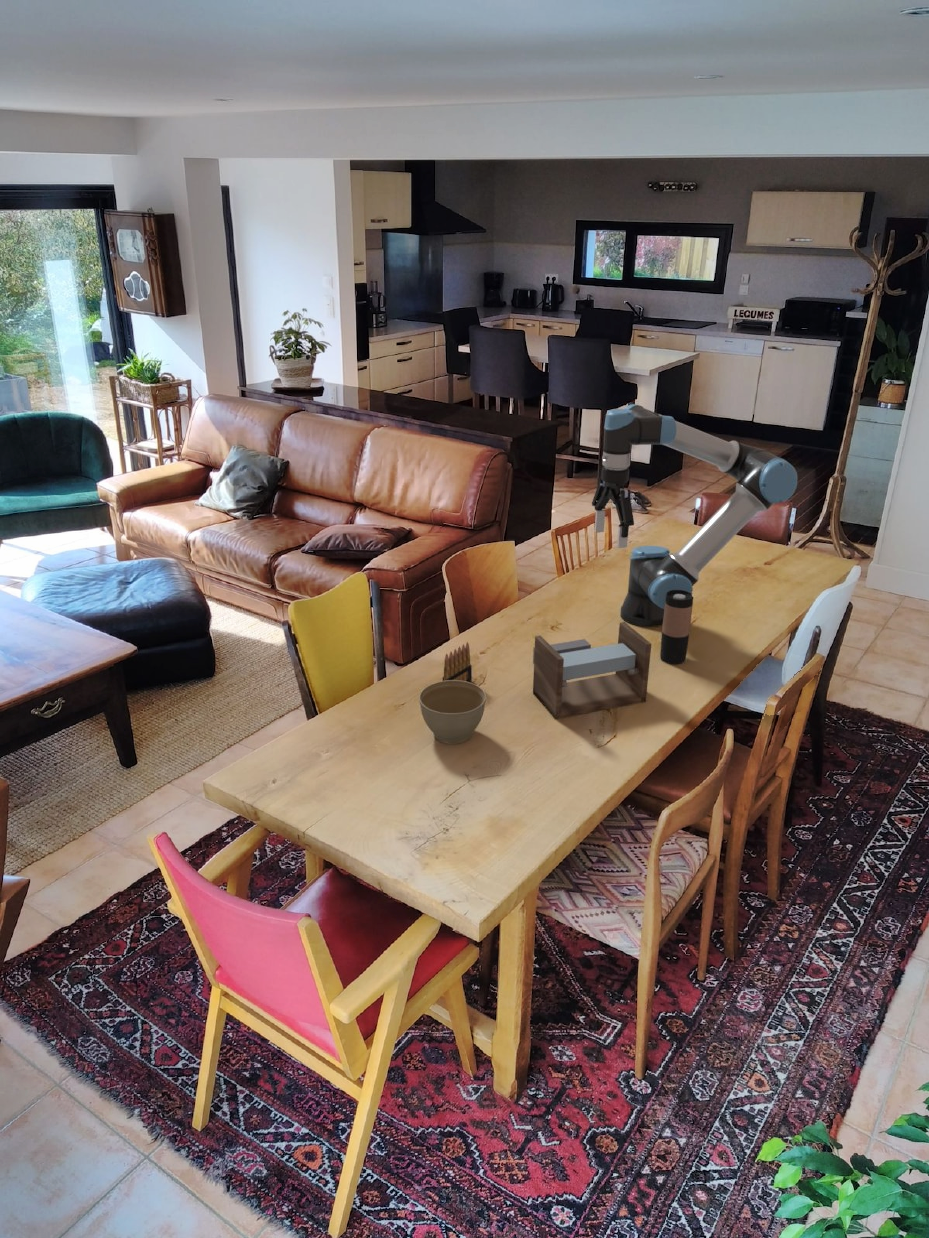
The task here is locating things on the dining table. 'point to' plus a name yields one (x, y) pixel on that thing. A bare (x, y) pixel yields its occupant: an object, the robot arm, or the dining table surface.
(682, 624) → the travel mug
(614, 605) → the dining table surface
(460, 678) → the ammunition clip
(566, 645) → the grey rectangular block
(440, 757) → the dining table surface
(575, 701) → the shelf frame
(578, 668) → the shelf board
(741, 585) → the dining table surface
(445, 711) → the planter bowl
